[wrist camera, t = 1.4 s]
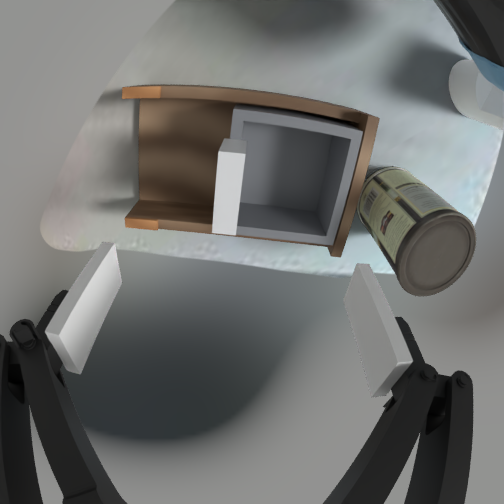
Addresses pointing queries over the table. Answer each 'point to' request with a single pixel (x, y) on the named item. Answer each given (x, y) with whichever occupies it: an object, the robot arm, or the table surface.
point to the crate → (284, 175)
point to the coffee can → (416, 231)
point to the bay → (214, 153)
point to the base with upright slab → (476, 94)
